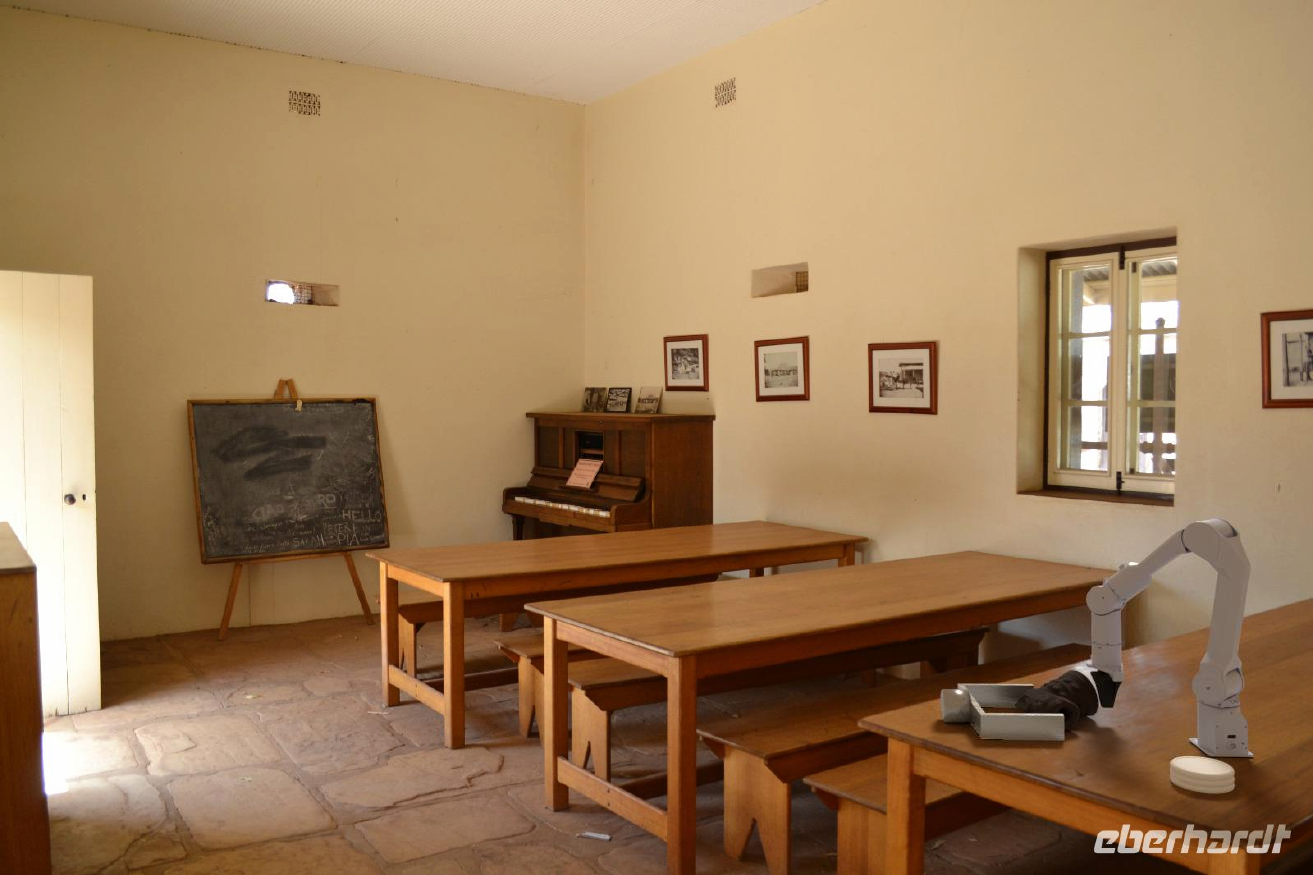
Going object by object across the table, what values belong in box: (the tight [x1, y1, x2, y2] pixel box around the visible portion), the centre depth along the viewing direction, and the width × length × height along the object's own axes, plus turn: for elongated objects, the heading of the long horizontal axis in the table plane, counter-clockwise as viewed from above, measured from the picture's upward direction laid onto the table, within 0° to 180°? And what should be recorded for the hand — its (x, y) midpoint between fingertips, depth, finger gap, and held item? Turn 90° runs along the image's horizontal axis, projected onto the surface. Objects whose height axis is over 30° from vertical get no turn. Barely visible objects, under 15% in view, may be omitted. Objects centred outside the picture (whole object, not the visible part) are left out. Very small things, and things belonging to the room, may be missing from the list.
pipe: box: [1015, 669, 1100, 732], centre depth 214 cm, size 10×15×15 cm
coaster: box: [1169, 755, 1236, 795], centre depth 177 cm, size 10×10×4 cm
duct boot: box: [940, 683, 1065, 742], centre depth 214 cm, size 23×21×7 cm
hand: (1107, 707), depth 211 cm, fingers closed
